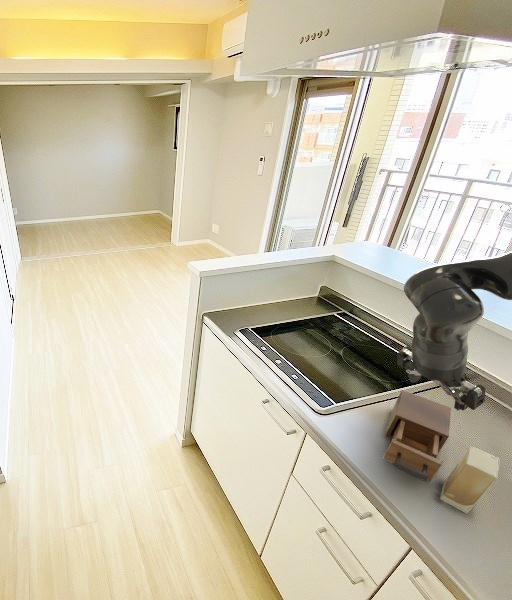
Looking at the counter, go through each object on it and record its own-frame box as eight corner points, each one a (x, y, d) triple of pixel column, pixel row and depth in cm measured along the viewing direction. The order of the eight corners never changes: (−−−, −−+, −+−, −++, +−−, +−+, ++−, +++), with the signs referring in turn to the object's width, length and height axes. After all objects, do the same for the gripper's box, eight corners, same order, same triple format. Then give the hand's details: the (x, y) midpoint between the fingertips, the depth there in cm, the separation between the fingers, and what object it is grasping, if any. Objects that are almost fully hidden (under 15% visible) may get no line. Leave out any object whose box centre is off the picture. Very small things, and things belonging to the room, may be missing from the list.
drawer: (428, 495, 70) (440, 478, 67) (379, 470, 75) (389, 453, 72) (433, 450, 79) (444, 434, 76) (390, 431, 84) (398, 415, 81)
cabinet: (435, 458, 78) (449, 436, 74) (385, 435, 84) (395, 414, 80) (438, 428, 85) (451, 407, 82) (391, 410, 91) (402, 389, 88)
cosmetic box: (444, 480, 73) (470, 443, 67) (471, 494, 70) (500, 457, 64) (438, 500, 69) (465, 462, 64) (467, 515, 67) (498, 478, 61)
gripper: (503, 363, 57) (492, 405, 66) (414, 321, 68) (415, 362, 77) (468, 389, 57) (462, 428, 66) (384, 343, 69) (389, 381, 78)
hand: (436, 392), depth 72 cm, fingers open, 8 cm apart
